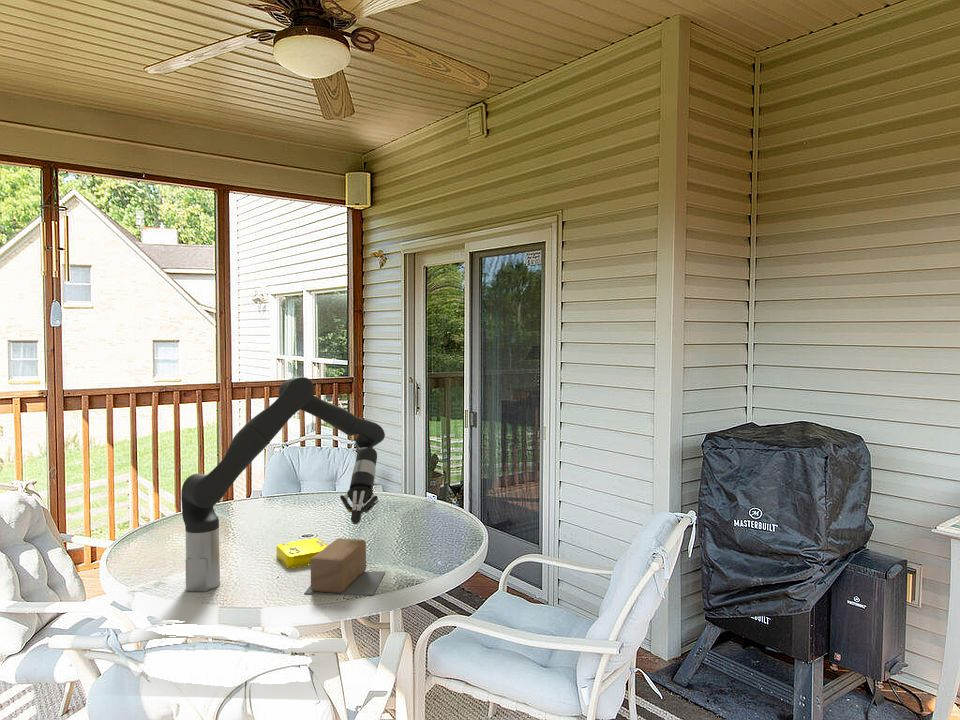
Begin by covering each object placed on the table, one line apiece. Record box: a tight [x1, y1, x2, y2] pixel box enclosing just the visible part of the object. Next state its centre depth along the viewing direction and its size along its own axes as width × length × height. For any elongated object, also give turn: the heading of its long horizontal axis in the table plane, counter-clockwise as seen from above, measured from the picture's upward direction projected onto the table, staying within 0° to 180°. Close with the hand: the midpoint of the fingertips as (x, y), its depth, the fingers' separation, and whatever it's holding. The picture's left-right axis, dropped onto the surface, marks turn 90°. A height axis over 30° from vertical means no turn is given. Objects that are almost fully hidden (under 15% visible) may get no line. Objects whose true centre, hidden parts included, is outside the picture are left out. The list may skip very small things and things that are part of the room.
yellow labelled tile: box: [276, 537, 329, 569], centre depth 221 cm, size 15×15×5 cm
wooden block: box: [310, 538, 367, 593], centre depth 199 cm, size 10×10×20 cm
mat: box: [303, 571, 386, 596], centre depth 198 cm, size 18×20×1 cm
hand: (355, 523), depth 210 cm, fingers closed
